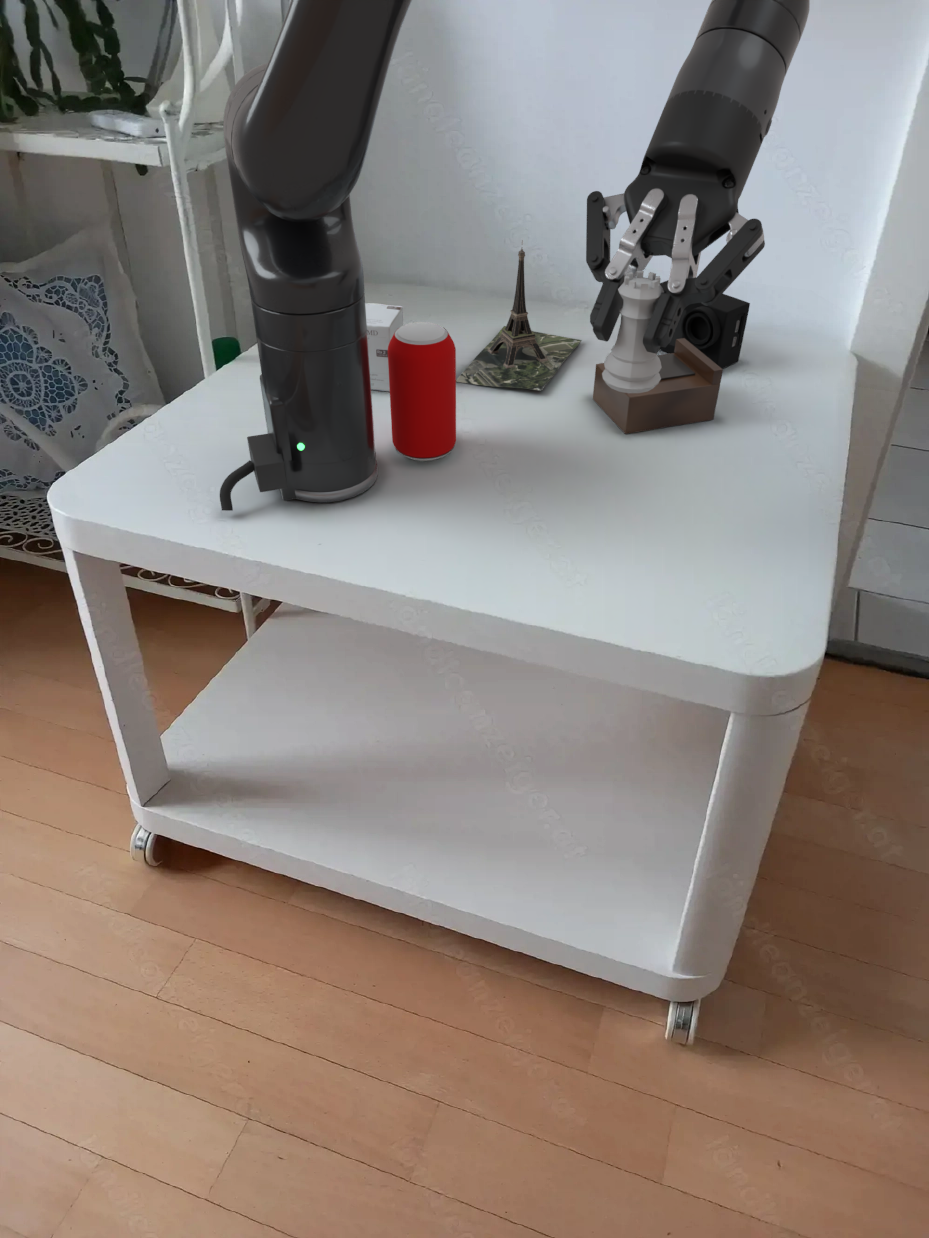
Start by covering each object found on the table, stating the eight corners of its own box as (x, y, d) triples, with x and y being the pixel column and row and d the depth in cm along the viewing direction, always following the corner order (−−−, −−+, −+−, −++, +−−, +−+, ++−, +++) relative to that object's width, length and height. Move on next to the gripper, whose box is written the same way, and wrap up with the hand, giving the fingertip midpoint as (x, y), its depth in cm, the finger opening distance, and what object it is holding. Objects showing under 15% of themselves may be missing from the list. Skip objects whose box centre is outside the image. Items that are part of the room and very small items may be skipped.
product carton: (338, 388, 101) (332, 321, 97) (353, 364, 106) (348, 300, 101) (393, 392, 101) (390, 326, 96) (406, 368, 105) (403, 304, 100)
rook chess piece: (658, 397, 69) (673, 291, 64) (598, 392, 70) (608, 286, 65) (661, 371, 73) (675, 268, 68) (604, 367, 74) (613, 264, 68)
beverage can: (413, 473, 88) (409, 351, 80) (381, 445, 92) (374, 327, 84) (468, 455, 90) (469, 335, 83) (434, 429, 94) (431, 312, 87)
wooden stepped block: (625, 434, 94) (631, 383, 90) (592, 399, 100) (597, 350, 96) (713, 419, 96) (723, 369, 93) (676, 386, 102) (684, 337, 98)
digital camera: (636, 346, 110) (644, 287, 105) (666, 334, 113) (674, 276, 108) (709, 376, 104) (720, 314, 99) (738, 362, 107) (750, 301, 102)
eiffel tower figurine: (542, 397, 100) (550, 271, 91) (454, 381, 103) (454, 257, 94) (581, 343, 111) (592, 226, 102) (501, 330, 113) (504, 215, 105)
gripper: (613, 75, 67) (522, 298, 67) (809, 98, 61) (710, 342, 61) (635, 140, 74) (553, 342, 74) (814, 166, 68) (724, 385, 68)
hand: (625, 341), depth 68 cm, fingers closed on rook chess piece, 3 cm apart
